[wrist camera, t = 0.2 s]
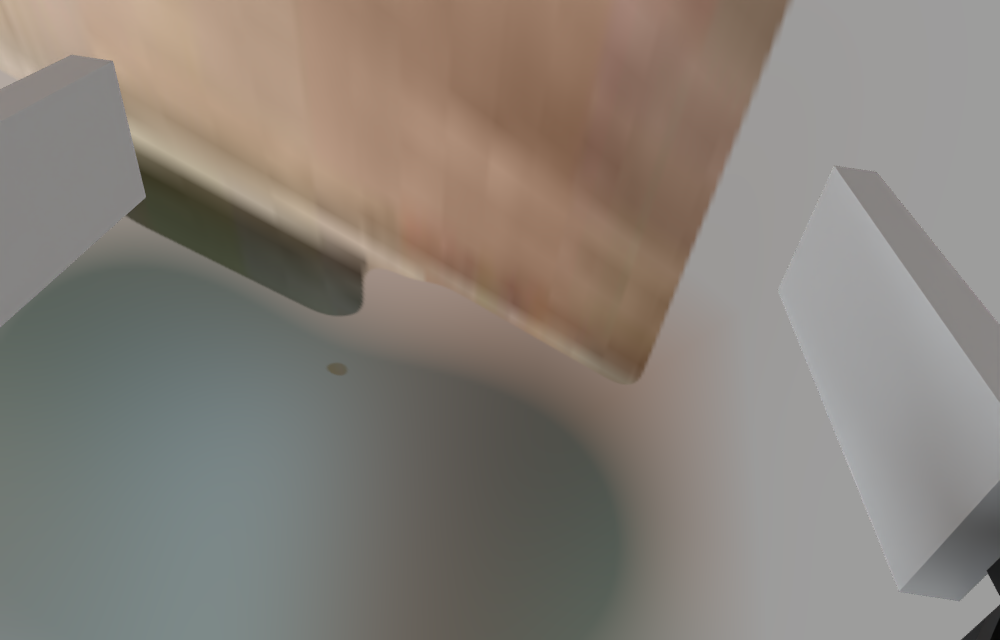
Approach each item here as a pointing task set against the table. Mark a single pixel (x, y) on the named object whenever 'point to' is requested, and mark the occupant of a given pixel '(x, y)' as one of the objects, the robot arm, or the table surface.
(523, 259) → the table surface
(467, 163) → the table surface
